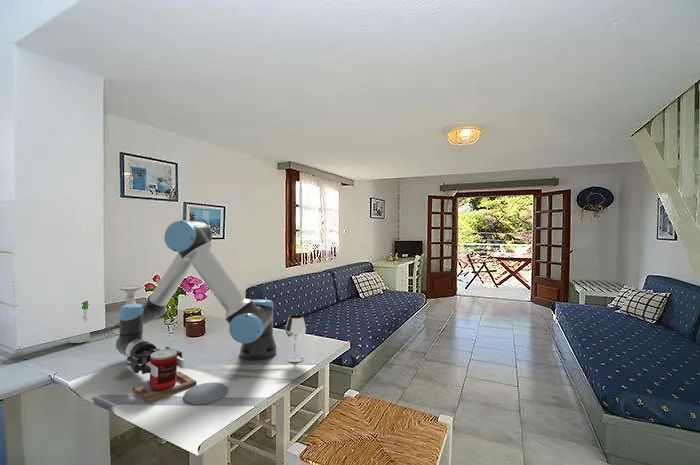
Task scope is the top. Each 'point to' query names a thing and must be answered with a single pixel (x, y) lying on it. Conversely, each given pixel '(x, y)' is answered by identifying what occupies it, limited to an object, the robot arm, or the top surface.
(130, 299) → the candle holder
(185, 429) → the top surface
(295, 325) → the wineglass
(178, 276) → the robot arm
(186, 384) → the walnut cradle
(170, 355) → the canned food
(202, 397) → the slate mat
